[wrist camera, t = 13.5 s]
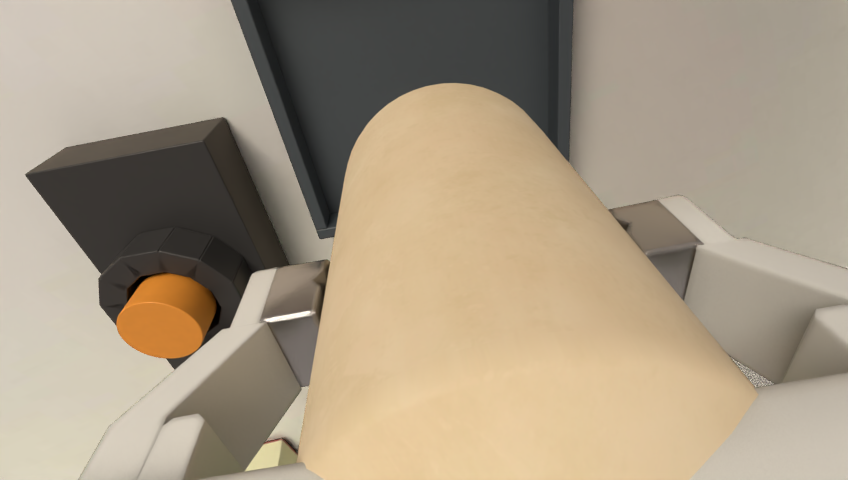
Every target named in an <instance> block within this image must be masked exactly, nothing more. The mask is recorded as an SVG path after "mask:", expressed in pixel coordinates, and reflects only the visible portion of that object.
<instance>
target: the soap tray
mask: <svg viewBox="0 0 848 480" xmlns="http://www.w3.org/2000/svg"><path fill="white" fill-rule="evenodd" d="M231 2H232V5H233V7H234V10H235V13H236V15H237V18H238V21H239V23H240V26H241V29H242V32H243V34H244V37H245V40H246V42H247V45H248V48H249V50H250V53H251V56H252V58H253V61H254V64H255V66H256V69H257V72H258V75H259V77H260V80H261V83H262V85H263V88H264V91H265V93H266V96H267V99H268V101H269V104H270V107H271V110H272V112H273V115H274V118H275V120H276V123H277V126H278V128H279V131H280V134H281V136H282V139H283V142H284V144H285V147H286V150H287V153H288V155H289V158H290V161H291V163H292V166H293V169H294V171H295V174H296V177H297V179H298V182H299V185H300V188H301V190H302V193H303V196H304V198H305V201H306V204H307V206H308V209H309V212H310V214H311V217H312V220H313V222H314V225H315V228H316V230H317V233H318V236H319V238H320V239H325V238H330V237H335V231H336V225H337V219H338V213H339V208H340V202H341V196H342V190H343V184H344V178H345V173H346V169H347V164H348V161H349V158H350V155H351V151H352V149H353V147H354V145H355V143H356V141H357V139H358V137H359V136H360V134H361V133H362V131H363V130H364V128H365V127H366V125H367V124H368V123H369V122H370V121H371V119H372V118H373V117H374V116H375V115H376V114H377V113H378V112H379V111H380V110H382V109H383V108H384V107H385V106H386V105H387V104H389V103H390V102H392V101H394V100H395V99H397V98H398V97H400V96H402V95H404V94H406V93H408V92H411V91H413V90H416V89H419V88H422V87H425V86H430V85H436V84H442V83H461V84H471V85H475V86H479V87H483V88H486V89H488V90H491V91H493V92H496V93H498V94H500V95H502V96H504V97H506V98H507V99H509V100H511V101H513V102H514V103H515V104H516V105H518V106H519V107H520V108H521V109H523V110H524V111H525V113H526V114H527V115H528V116H529V117H530V118H531V119H532V120H533V121H534V122H535V123H536V124H537V126H538V127H539V128H540V129H541V130H542V131H543V132H544V133H545V135H546V136H547V137H548V138H549V139H550V141H551V142H552V143H553V144H554V146H555V147H556V148H557V149H558V150H559V152H560V153H561V154H562V155H563V156H564V158H565V159H566V160H567V161H568V162H569V142H570V107H571V71H572V35H573V0H231Z"/></svg>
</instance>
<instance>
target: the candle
mask: <svg viewBox="0 0 848 480" xmlns="http://www.w3.org/2000/svg"><path fill="white" fill-rule="evenodd" d="M758 395H759V394H758V393H757V392H756V390H755V387H754V386H753V384H752V383H751V382H750V381H749V380H748V378H747V377H746V376H745V375H744V373H743V372H742V371H741V370H740V369H739V367H738V366H737V365H736V364H735V363H734V361H733V360H732V359H731V358H730V357H729V355H728V354H727V353H726V352H725V351H724V349H723V348H722V347H721V346H720V344H719V343H718V342H717V341H716V340H715V338H714V337H713V336H712V335H711V334H710V332H709V331H708V330H707V329H706V328H705V326H704V325H703V324H702V323H701V322H700V320H699V319H698V318H697V317H696V316H695V314H694V313H693V312H692V311H691V309H690V308H689V307H688V306H687V305H686V303H685V302H684V301H683V300H682V299H681V297H680V296H679V295H678V294H677V293H676V291H675V290H674V289H673V288H672V287H671V285H670V284H669V283H668V282H667V281H666V279H665V278H664V277H663V276H662V275H661V273H660V272H659V271H658V270H657V269H656V267H655V266H654V265H653V264H652V262H651V261H650V260H649V259H648V258H647V256H646V255H645V254H644V253H643V252H642V250H641V249H640V248H639V247H638V246H637V244H636V243H635V242H634V241H633V240H632V238H631V237H630V236H629V235H628V234H627V232H626V231H625V230H624V229H623V228H622V226H621V225H620V224H619V223H618V221H617V220H616V219H615V218H614V217H613V215H612V214H611V213H610V212H609V211H608V209H607V208H606V207H605V206H604V205H603V203H602V202H601V201H600V200H599V199H598V197H597V196H596V195H595V194H594V193H593V191H592V190H591V189H590V188H589V187H588V185H587V184H586V183H585V182H584V180H583V179H582V178H581V177H580V176H579V174H578V173H577V172H576V171H575V170H574V168H573V167H572V166H571V165H570V164H569V162H568V161H567V160H566V159H565V158H564V156H563V155H562V154H561V153H560V152H559V150H558V149H557V148H556V147H555V146H554V144H553V143H552V142H551V141H550V139H549V138H548V137H547V136H546V135H545V133H544V132H543V131H542V130H541V129H540V128H539V127H538V126H537V124H536V123H535V122H534V121H533V120H532V119H531V118H530V117H529V116H528V115H527V114H526V113H525V111H524V110H523V109H521V108H520V107H519V106H518V105H516V104H515V103H514V102H513V101H511V100H509V99H507V98H506V97H504V96H502V95H500V94H498V93H496V92H493V91H491V90H488V89H486V88H483V87H479V86H475V85H471V84H461V83H442V84H436V85H430V86H425V87H422V88H419V89H416V90H413V91H411V92H408V93H406V94H404V95H402V96H400V97H398V98H397V99H395V100H394V101H392V102H390V103H389V104H387V105H386V106H385V107H384V108H383V109H382V110H380V111H379V112H378V113H377V114H376V115H375V116H374V117H373V118H372V119H371V121H370V122H369V123H368V124H367V125H366V127H365V128H364V130H363V131H362V133H361V134H360V136H359V137H358V139H357V141H356V143H355V145H354V147H353V149H352V151H351V155H350V158H349V161H348V164H347V169H346V173H345V178H344V184H343V190H342V196H341V202H340V208H339V213H338V219H337V225H336V231H335V237H334V243H333V249H332V255H331V261H330V266H329V272H328V278H327V284H326V290H325V296H324V302H323V308H322V313H321V319H320V325H319V331H318V337H317V343H316V349H315V355H314V360H313V366H312V372H311V378H310V384H309V390H308V396H307V402H306V408H305V413H304V419H303V425H302V431H301V437H300V443H299V449H298V455H297V461H296V463H299V462H303V463H304V464H305V465H306V469H308V470H310V471H312V472H314V473H315V474H317V475H318V476H320V477H321V478H323V479H325V480H689V479H690V478H691V477H692V476H693V475H694V474H695V473H696V472H697V471H698V470H699V469H700V468H701V467H702V466H703V465H704V463H705V462H706V461H707V460H708V459H709V458H710V457H711V456H712V455H713V453H714V452H715V451H716V450H717V449H718V448H719V447H720V446H721V445H722V444H723V442H724V441H725V440H726V439H727V438H728V437H729V436H730V435H731V434H732V432H733V431H734V429H735V428H736V426H737V425H738V423H739V422H740V421H741V419H742V418H743V416H744V415H745V413H746V412H747V410H748V409H749V407H750V406H751V404H752V403H753V401H754V400H755V399H756V398H757V396H758Z"/></svg>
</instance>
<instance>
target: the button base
mask: <svg viewBox="0 0 848 480" xmlns="http://www.w3.org/2000/svg"><path fill="white" fill-rule="evenodd" d="M25 175H26V177H27V178H28V179H29V181H30V182H31V183H32V185H33V186H34V187H35V189H36V190H37V191H38V192H39V194H40V195H41V196H42V198H43V199H44V200H45V202H46V203H47V204H48V205H49V207H50V208H51V209H52V211H53V212H54V213H55V215H56V216H57V217H58V218H59V220H60V221H61V222H62V224H63V225H64V226H65V228H66V229H67V230H68V232H69V233H70V234H71V235H72V237H73V238H74V239H75V241H76V242H77V243H78V245H79V246H80V247H81V248H82V250H83V251H84V252H85V254H86V255H87V256H88V258H89V259H90V260H91V261H92V263H93V264H94V265H95V267H96V268H97V269H98V271H99V272H100V273H101V274H102V275H101V276H100V278H99V303H100V306H101V307H102V309H103V310H104V311H105V312H106V314H107V315H108V316H109V317H110V318H111V320H112V321H113V322H114V323H115V325H116V326H117V324H116V323H117V318H118V315H119V314H120V312H121V311H122V309H123V308H124V306H125V305H126V304H127V302H128V301H129V299H130V298H131V297H132V295H133V294H134V292H135V291H136V289H137V288H138V287H139V285H140V284H141V283H142V282H143V281H144V280H145V279H146V278H148V277H150V276H153V275H156V274H160V273H171V274H176V275H181V276H185V277H190V278H191V279H193V280H194V281H196V282H198V283H199V284H201V285H202V286H204V287H205V288H207V289H208V290H210V291H211V293H212V294H213V296H214V298H215V300H216V305H217V310H216V313H215V315H214V318H213V320H212V322H211V324H210V327H209V329H208V331H207V333H206V335H205V338H204V340H203V342H202V344H201V346H200V347H199V348H198V349H197V350H196V351H198V350H199V349H200V348H201V347H202V346H203V345H205V344H206V343H207V342H208V341H209V340H210V339H212V338H213V337H214V336H215V335H216V334H217V333H219V332H220V331H221V330H222V329H227V328H230V326H231V324H232V321H233V319H234V317H235V314H236V312H237V309H238V307H239V304H240V302H241V299H242V297H243V294H244V292H245V289H246V287H247V284H248V282H249V280H250V277H251V275H252V274H253V273H254V272H256V271H260V270H265V269H271V268H276V267H278V268H280V267H283V266H289V264H288V261H287V259H286V257H285V254H284V252H283V250H282V248H281V245H280V243H279V241H278V239H277V236H276V234H275V232H274V229H273V227H272V225H271V223H270V220H269V218H268V216H267V214H266V211H265V209H264V207H263V204H262V202H261V200H260V198H259V195H258V193H257V191H256V188H255V186H254V184H253V182H252V179H251V177H250V175H249V173H248V170H247V168H246V166H245V163H244V161H243V159H242V157H241V154H240V152H239V150H238V148H237V145H236V143H235V141H234V138H233V136H232V134H231V132H230V129H229V127H228V125H227V123H226V120H225V118H223V117H222V118H217V119H212V120H207V121H201V122H196V123H191V124H186V125H180V126H175V127H170V128H165V129H160V130H154V131H149V132H144V133H139V134H134V135H128V136H123V137H118V138H113V139H108V140H102V141H97V142H92V143H87V144H82V145H76V146H71V147H66V148H64V149H63V150H61V151H60V152H58V153H57V154H55V155H54V156H52V157H51V158H49V159H48V160H46V161H45V162H43V163H42V164H40V165H38V166H37V167H35V168H34V169H32V170H31V171H29V172H28V173H26V174H25ZM196 351H195V352H196ZM195 352H193V353H192V354H190V355H188V356H185V357H180V358H166V359H167V360H168V362H169V363H170V364H171V365H172V367H173V368H174V369H176V368H178V367H179V366H180V365H181V364H182V363H183V362H185V361H186V360H187V359H188V358H189V357H190V356H192V355H193V354H194V353H195Z"/></svg>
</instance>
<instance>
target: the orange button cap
mask: <svg viewBox="0 0 848 480" xmlns="http://www.w3.org/2000/svg"><path fill="white" fill-rule="evenodd" d="M216 310H217V305H216V300H215V298H214V296H213V294H212V293H211V291H210V290H208V289H207V288H205V287H204V286H202V285H201V284H199V283H198V282H196V281H194V280H193V279H191V278H190V277H185V276H181V275H176V274H171V273H160V274H156V275H153V276H150V277H148V278H146V279H145V280H144V281H143V282H142V283H141V284H140V285H139V287H138V288H137V289H136V291H135V292H134V294H133V295H132V297H131V298H130V299H129V301H128V302H127V304H126V305H125V306H124V308H123V309H122V311H121V312H120V314H119V315H118V318H117V323H116V324H117V330H118V332H119V334H120V336H121V337H122V339H123V340H124V341H125V342H126V343H127V344H129V345H130V346H131V347H133V348H134V349H136V350H138V351H140V352H142V353H144V354H147V355H150V356H154V357H159V358H180V357H185V356H188V355H190V354H192V353H193V352H195V351H196V350H197V349H198V348H199V347H200V346H201V344H202V342H203V340H204V338H205V335H206V333H207V331H208V329H209V327H210V324H211V322H212V320H213V318H214V315H215V313H216Z"/></svg>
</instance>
